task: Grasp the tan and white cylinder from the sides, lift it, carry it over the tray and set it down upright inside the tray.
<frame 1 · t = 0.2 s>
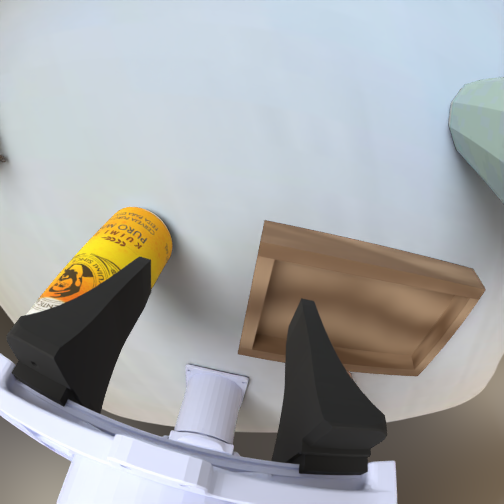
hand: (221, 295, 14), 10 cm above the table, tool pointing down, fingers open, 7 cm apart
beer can: (144, 232, 25), on the table
disposable coffee cup: (478, 118, 15), on the table
tray: (358, 304, 26), on the table
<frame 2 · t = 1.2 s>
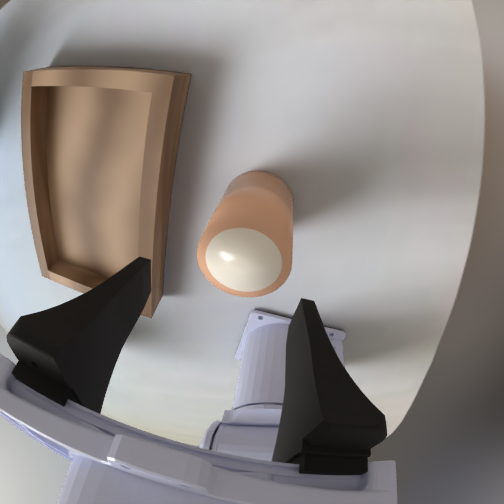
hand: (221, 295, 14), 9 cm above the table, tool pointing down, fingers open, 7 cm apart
tan and white cylinder: (258, 203, 21), on the table
tray: (99, 187, 22), on the table
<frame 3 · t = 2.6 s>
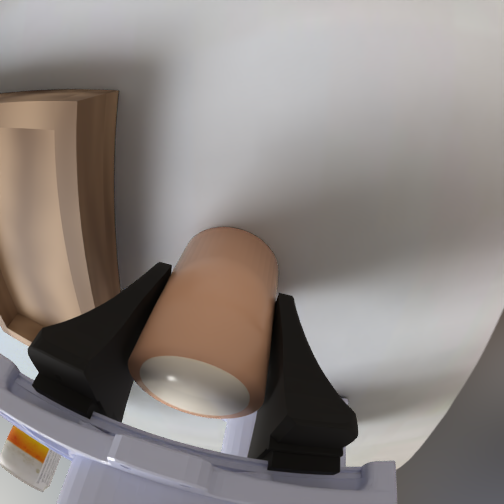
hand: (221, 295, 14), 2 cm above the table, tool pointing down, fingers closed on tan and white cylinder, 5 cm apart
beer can: (69, 374, 28), on the table
tan and white cylinder: (229, 269, 15), on the table, touching gripper
tray: (40, 241, 16), on the table
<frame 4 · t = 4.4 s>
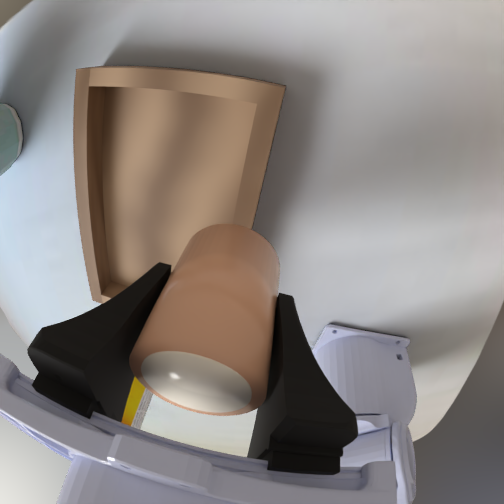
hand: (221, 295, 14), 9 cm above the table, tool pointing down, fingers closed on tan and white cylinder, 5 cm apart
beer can: (144, 347, 33), on the table
disposable coffee cup: (5, 134, 20), on the table
tan and white cylinder: (230, 266, 15), point 7 cm above the table, touching gripper
tray: (168, 203, 22), on the table
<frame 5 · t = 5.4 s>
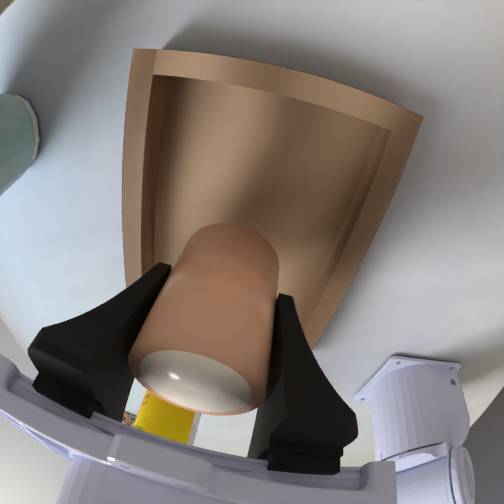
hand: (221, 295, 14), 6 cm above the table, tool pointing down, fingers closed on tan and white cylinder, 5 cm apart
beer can: (181, 379, 30), on the table
disposable coffee cup: (15, 133, 16), on the table
tan and white cylinder: (230, 265, 15), point 4 cm above the table, touching gripper
tray: (241, 232, 18), on the table
when the fingers open (4 cm above the table, at t = 6.1 s): tan and white cylinder drops 1 cm, resting on tray.
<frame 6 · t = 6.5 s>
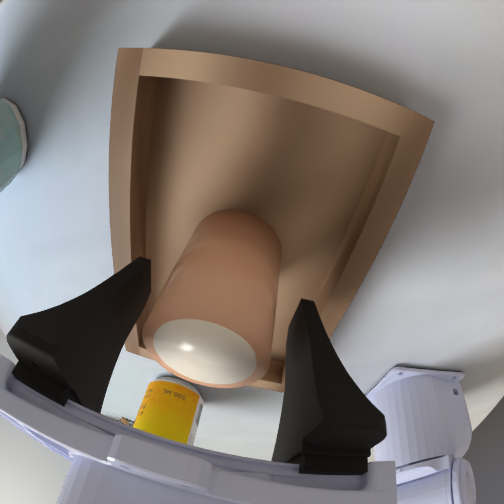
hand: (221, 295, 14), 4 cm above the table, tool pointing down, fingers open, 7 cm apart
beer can: (178, 388, 29), on the table
disposable coffee cup: (4, 138, 15), on the table
tan and white cylinder: (235, 250, 17), point 1 cm above the table, touching tray
tray: (237, 243, 17), on the table
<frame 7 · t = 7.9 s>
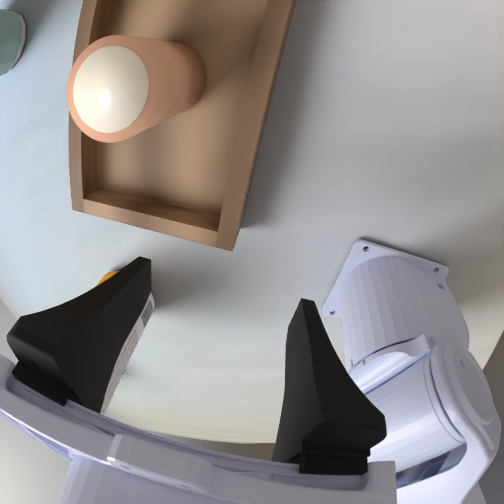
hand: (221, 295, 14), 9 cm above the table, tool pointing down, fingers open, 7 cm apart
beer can: (131, 289, 29), on the table
disposable coffee cup: (7, 44, 15), on the table
tan and white cylinder: (168, 78, 16), point 1 cm above the table, touching tray
tray: (173, 80, 17), on the table
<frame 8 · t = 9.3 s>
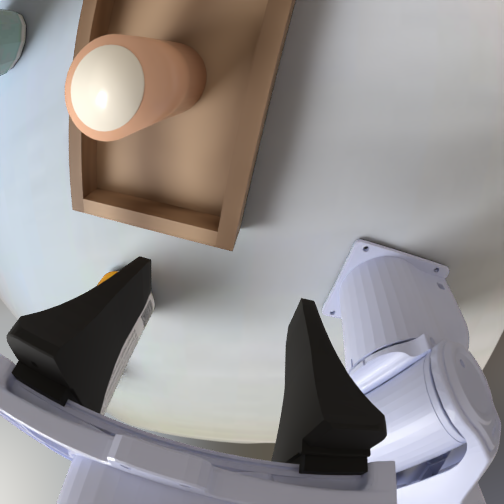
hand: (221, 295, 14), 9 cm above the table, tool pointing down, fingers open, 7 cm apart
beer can: (131, 289, 29), on the table
disposable coffee cup: (7, 44, 15), on the table
tan and white cylinder: (168, 78, 16), point 1 cm above the table, touching tray
tray: (174, 80, 17), on the table
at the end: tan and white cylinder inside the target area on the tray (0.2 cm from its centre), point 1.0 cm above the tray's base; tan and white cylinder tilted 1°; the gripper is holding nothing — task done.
